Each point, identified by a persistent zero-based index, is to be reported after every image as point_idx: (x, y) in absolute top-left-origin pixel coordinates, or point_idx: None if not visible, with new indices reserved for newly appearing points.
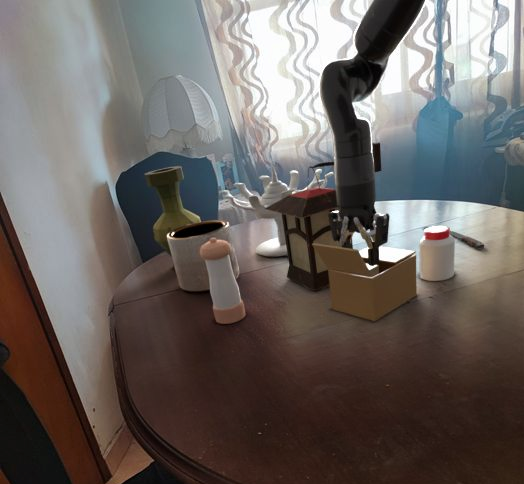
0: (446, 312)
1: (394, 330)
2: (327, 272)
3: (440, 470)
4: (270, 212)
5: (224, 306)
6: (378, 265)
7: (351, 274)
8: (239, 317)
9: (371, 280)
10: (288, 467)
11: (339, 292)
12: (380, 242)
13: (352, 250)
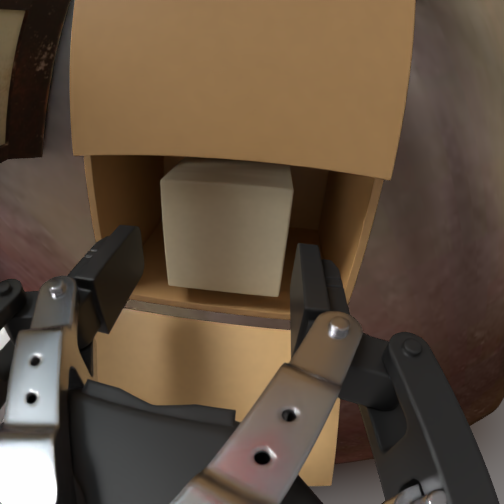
0: (469, 124)
1: (388, 254)
2: (16, 105)
3: (465, 411)
4: None
5: None
6: (293, 191)
7: (232, 313)
8: None
9: None
10: (361, 451)
11: None
12: (399, 406)
13: (307, 484)
